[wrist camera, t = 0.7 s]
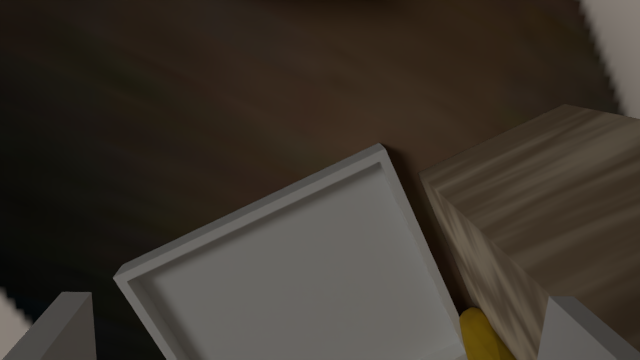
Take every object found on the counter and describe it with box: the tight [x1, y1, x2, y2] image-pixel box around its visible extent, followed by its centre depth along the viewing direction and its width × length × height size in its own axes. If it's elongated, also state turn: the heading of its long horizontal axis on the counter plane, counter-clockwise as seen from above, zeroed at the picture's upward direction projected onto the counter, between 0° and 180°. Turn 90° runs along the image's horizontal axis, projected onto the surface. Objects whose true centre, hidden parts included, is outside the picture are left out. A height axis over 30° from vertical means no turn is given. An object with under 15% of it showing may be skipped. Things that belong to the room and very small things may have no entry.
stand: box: [418, 104, 640, 360], centre depth 32 cm, size 14×14×28 cm
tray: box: [113, 143, 468, 360], centre depth 45 cm, size 22×25×2 cm
